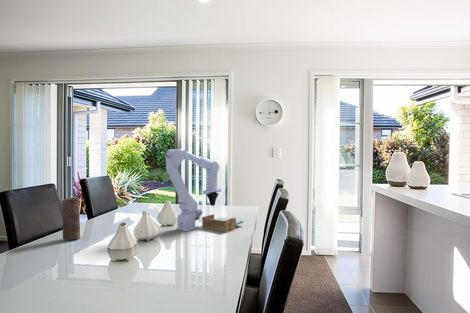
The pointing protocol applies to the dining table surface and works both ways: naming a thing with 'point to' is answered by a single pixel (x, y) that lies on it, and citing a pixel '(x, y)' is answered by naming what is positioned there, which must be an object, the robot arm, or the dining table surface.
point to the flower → (198, 213)
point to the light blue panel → (228, 218)
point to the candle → (71, 218)
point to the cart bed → (218, 224)
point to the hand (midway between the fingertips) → (212, 205)
